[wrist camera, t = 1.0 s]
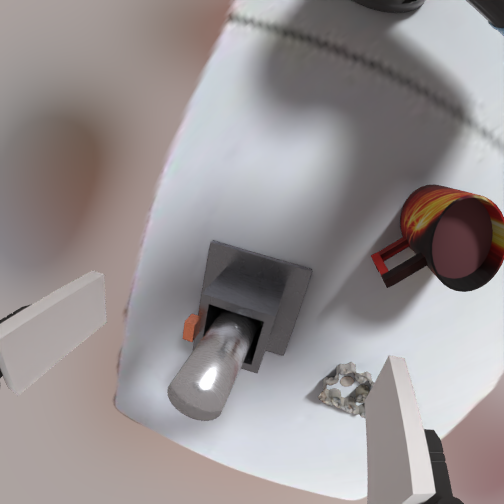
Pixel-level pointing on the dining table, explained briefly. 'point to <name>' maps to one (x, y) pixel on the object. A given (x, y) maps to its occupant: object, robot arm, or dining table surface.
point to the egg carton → (361, 391)
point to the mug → (447, 238)
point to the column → (213, 366)
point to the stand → (250, 298)
